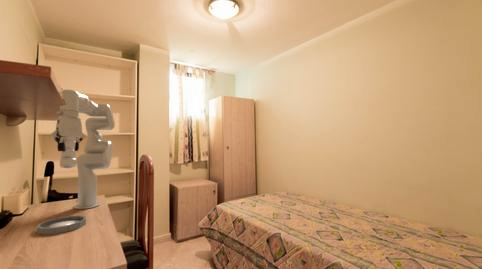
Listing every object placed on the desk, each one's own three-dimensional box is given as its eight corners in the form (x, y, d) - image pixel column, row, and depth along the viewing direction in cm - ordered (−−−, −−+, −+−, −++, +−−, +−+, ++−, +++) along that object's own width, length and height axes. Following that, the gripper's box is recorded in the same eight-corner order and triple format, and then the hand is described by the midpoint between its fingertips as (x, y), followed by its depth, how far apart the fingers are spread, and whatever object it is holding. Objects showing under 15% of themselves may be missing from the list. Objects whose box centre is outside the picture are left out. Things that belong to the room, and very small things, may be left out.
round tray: (28, 231, 98) (28, 225, 98) (71, 219, 113) (71, 214, 114) (51, 236, 91) (51, 230, 91) (94, 223, 106) (94, 217, 107)
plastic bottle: (77, 167, 112) (78, 127, 114) (59, 168, 108) (61, 126, 109) (75, 167, 117) (76, 128, 119) (58, 168, 113) (60, 128, 114)
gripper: (53, 111, 105) (52, 151, 104) (91, 116, 121) (90, 150, 119) (44, 113, 108) (43, 151, 107) (82, 117, 124) (82, 151, 123)
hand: (68, 150), depth 113 cm, fingers closed on plastic bottle, 6 cm apart
